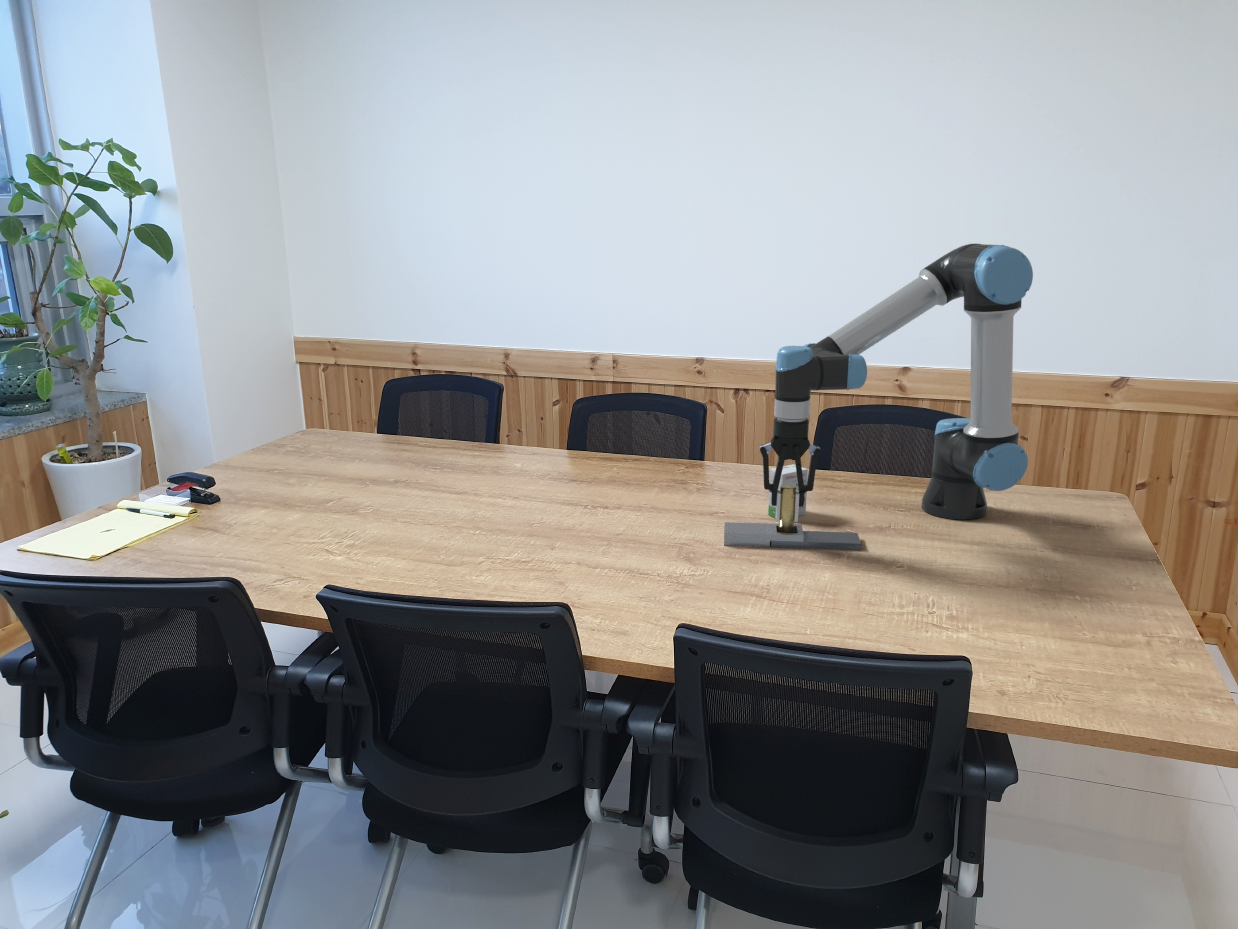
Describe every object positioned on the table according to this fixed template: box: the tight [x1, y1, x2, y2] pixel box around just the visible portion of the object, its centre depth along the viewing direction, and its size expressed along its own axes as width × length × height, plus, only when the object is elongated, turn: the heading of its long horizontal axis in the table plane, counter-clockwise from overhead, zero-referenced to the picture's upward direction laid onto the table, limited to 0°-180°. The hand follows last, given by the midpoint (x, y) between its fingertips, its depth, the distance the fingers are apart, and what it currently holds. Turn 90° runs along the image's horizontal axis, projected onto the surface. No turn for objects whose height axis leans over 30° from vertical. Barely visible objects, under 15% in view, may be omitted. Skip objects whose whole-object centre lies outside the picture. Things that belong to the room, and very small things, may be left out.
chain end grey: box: [723, 521, 804, 548], centre depth 206 cm, size 18×7×3 cm, turn 82°
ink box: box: [767, 463, 809, 519], centre depth 222 cm, size 9×5×12 cm, turn 123°
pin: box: [778, 485, 796, 533], centre depth 204 cm, size 3×3×12 cm
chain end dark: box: [770, 530, 862, 551], centre depth 205 cm, size 20×7×2 cm, turn 82°
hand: (786, 519), depth 204 cm, fingers closed on pin, 3 cm apart
